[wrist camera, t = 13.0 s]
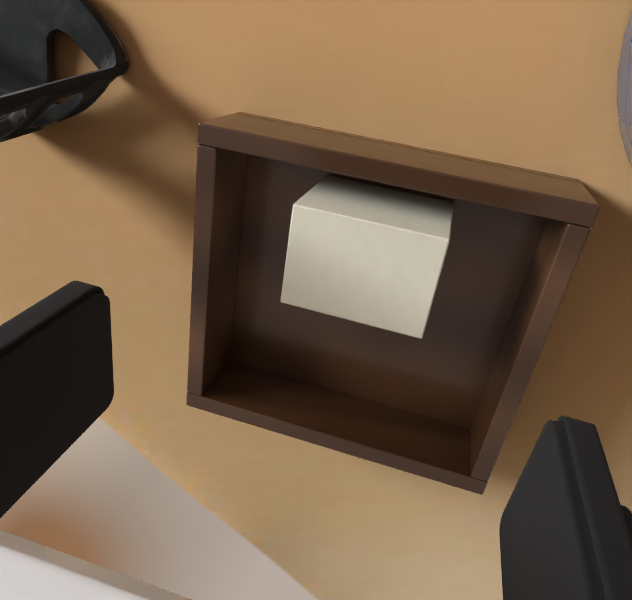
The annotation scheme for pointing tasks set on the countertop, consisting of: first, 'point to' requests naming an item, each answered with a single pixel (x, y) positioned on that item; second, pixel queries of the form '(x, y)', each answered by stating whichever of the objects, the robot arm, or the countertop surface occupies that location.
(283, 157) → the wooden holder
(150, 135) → the countertop surface
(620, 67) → the blue round tray
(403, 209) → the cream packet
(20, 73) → the holder
